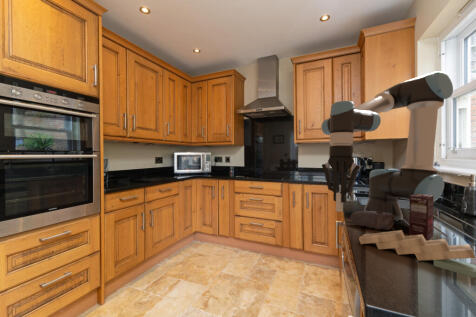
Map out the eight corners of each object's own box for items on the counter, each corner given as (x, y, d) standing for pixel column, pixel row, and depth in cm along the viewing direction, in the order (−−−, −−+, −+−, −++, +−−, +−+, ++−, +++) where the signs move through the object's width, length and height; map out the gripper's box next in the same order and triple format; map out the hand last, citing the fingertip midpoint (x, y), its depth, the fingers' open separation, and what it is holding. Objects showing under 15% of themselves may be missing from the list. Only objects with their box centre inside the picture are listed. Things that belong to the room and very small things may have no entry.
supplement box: (414, 237, 71) (416, 193, 71) (433, 242, 67) (434, 195, 67) (407, 243, 66) (408, 195, 66) (427, 248, 62) (428, 197, 62)
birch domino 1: (363, 234, 68) (401, 230, 60) (365, 240, 67) (404, 236, 60) (358, 238, 65) (398, 234, 57) (361, 243, 64) (401, 240, 57)
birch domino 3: (397, 243, 61) (445, 238, 54) (400, 249, 61) (448, 245, 54) (394, 247, 58) (445, 243, 51) (398, 254, 57) (449, 251, 50)
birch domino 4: (416, 248, 58) (469, 244, 51) (419, 254, 58) (473, 251, 51) (414, 253, 55) (471, 249, 48) (418, 260, 54) (475, 257, 47)
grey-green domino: (434, 254, 55) (500, 271, 47) (434, 260, 55) (499, 279, 47) (433, 259, 52) (503, 279, 44) (433, 266, 52) (503, 287, 44)
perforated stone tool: (349, 226, 82) (350, 209, 82) (350, 222, 87) (350, 206, 87) (395, 234, 74) (396, 215, 74) (394, 230, 79) (394, 212, 79)
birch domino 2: (380, 239, 64) (422, 234, 57) (382, 244, 64) (425, 241, 56) (375, 243, 61) (420, 238, 54) (378, 249, 60) (424, 245, 53)
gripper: (364, 145, 69) (363, 213, 70) (327, 146, 79) (325, 205, 79) (358, 144, 64) (356, 217, 64) (318, 145, 74) (316, 208, 74)
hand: (339, 210), depth 72 cm, fingers closed
